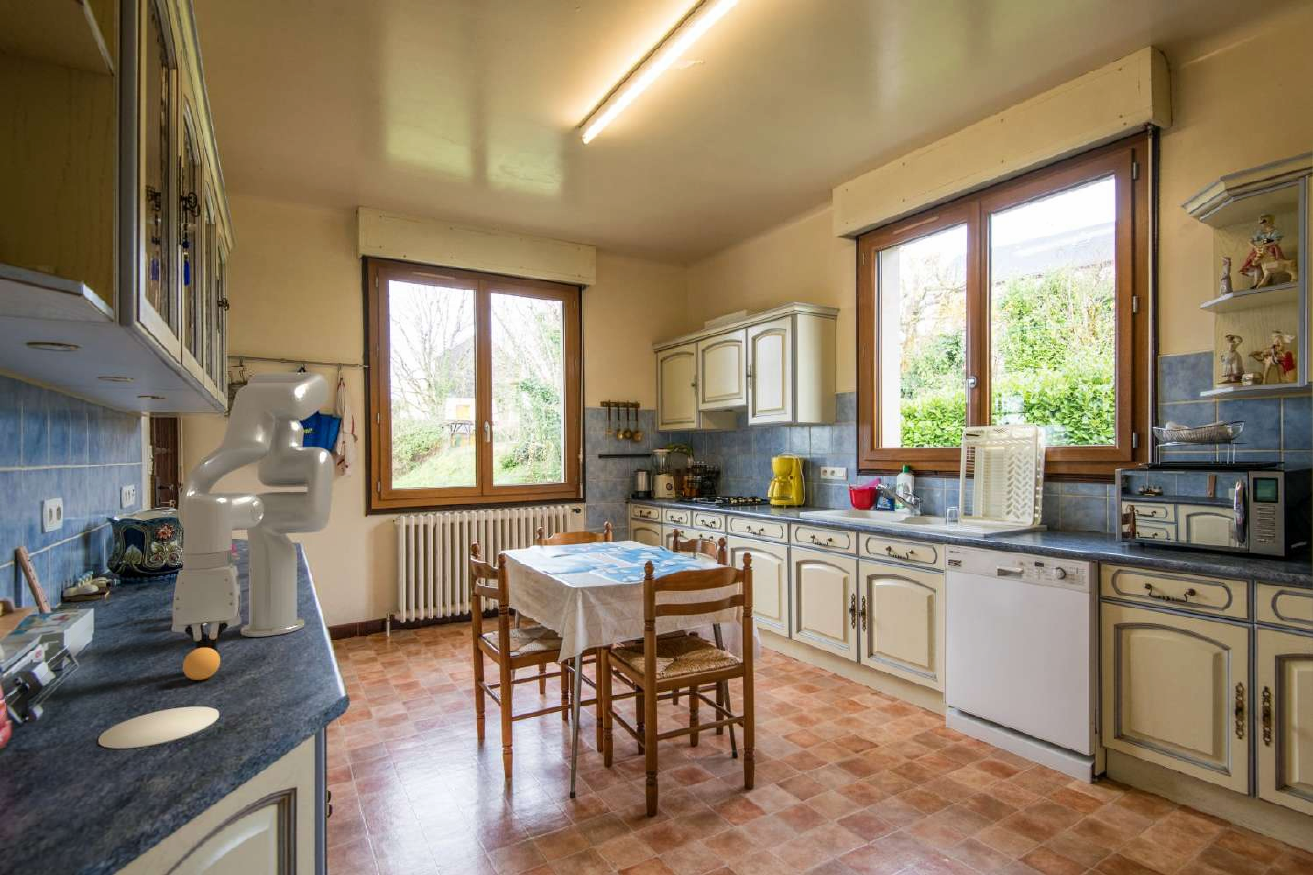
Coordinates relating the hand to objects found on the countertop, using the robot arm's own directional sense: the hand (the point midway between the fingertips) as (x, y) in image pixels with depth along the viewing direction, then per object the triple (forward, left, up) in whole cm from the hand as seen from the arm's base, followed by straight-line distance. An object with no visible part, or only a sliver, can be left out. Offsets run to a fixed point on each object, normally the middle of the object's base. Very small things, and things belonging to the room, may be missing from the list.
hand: (206, 659), depth 119 cm
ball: (+6, 0, +1) cm, 6 cm away
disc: (+28, -1, -2) cm, 28 cm away
